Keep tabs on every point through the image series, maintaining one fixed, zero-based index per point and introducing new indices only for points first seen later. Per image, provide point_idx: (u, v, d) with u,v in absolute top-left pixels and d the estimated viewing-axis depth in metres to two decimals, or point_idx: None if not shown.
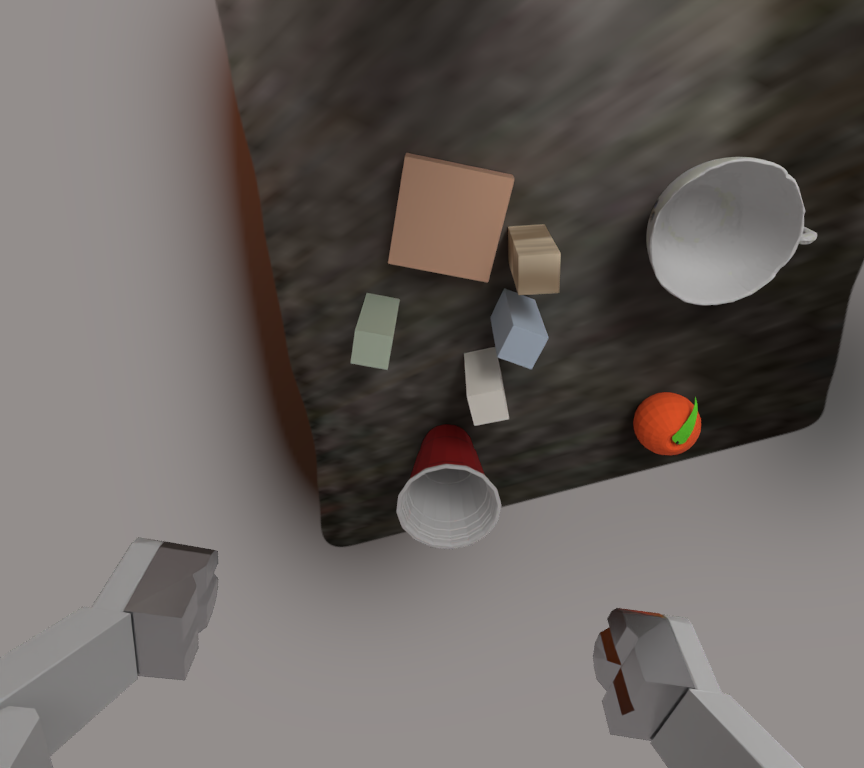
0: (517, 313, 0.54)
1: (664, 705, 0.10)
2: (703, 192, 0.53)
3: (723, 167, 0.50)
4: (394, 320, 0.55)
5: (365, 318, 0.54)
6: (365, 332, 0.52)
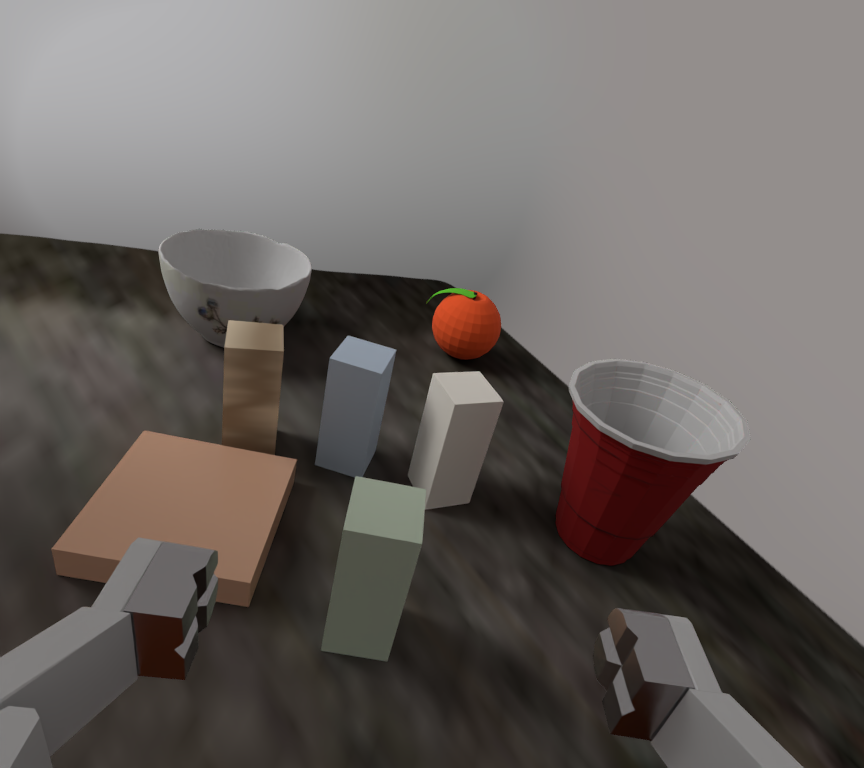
0: None
1: (664, 705, 0.10)
2: None
3: None
4: None
5: None
6: (348, 513, 0.26)
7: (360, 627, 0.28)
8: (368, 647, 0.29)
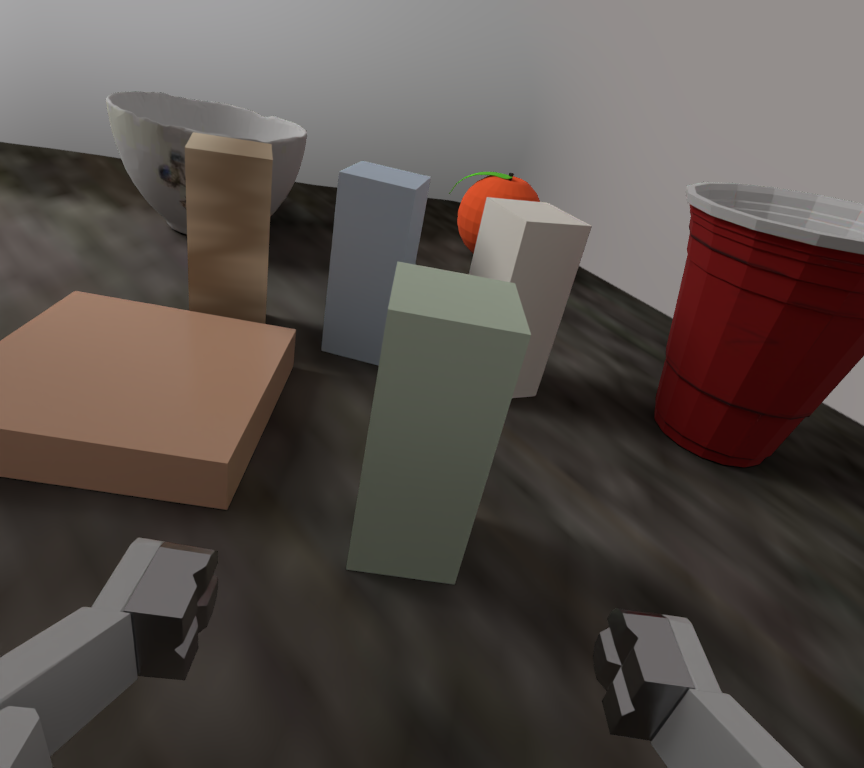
0: None
1: (664, 705, 0.10)
2: None
3: None
4: None
5: None
6: (394, 294, 0.14)
7: (412, 521, 0.17)
8: (424, 559, 0.18)
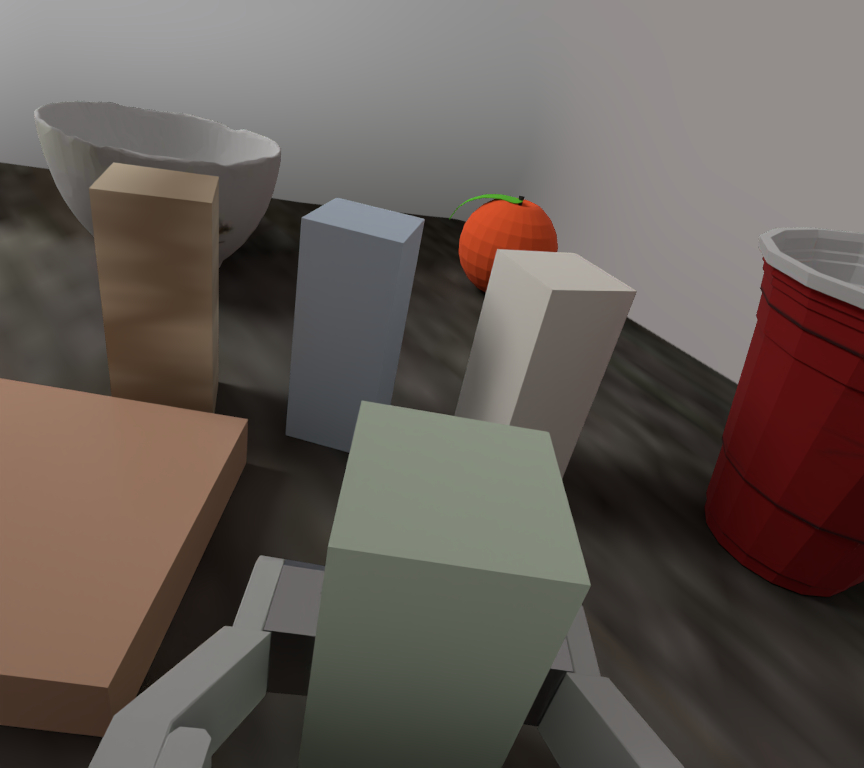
0: None
1: (545, 689, 0.10)
2: None
3: None
4: None
5: None
6: (346, 496, 0.08)
7: None
8: None
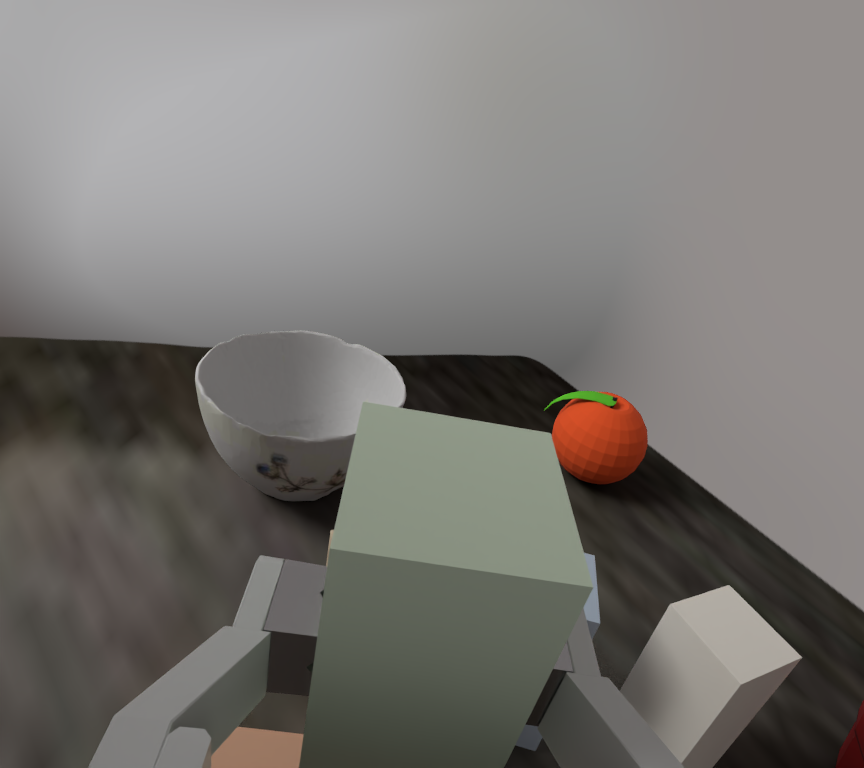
0: None
1: (545, 689, 0.10)
2: None
3: None
4: None
5: None
6: (348, 498, 0.08)
7: None
8: None
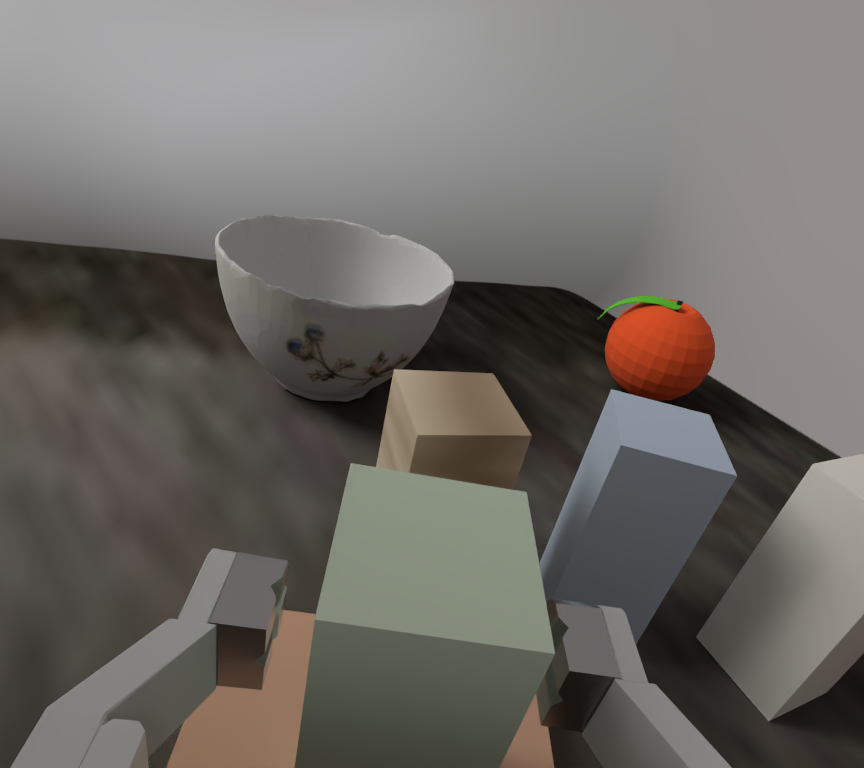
0: (585, 505, 0.20)
1: (591, 696, 0.10)
2: None
3: None
4: None
5: None
6: (333, 567, 0.09)
7: None
8: None
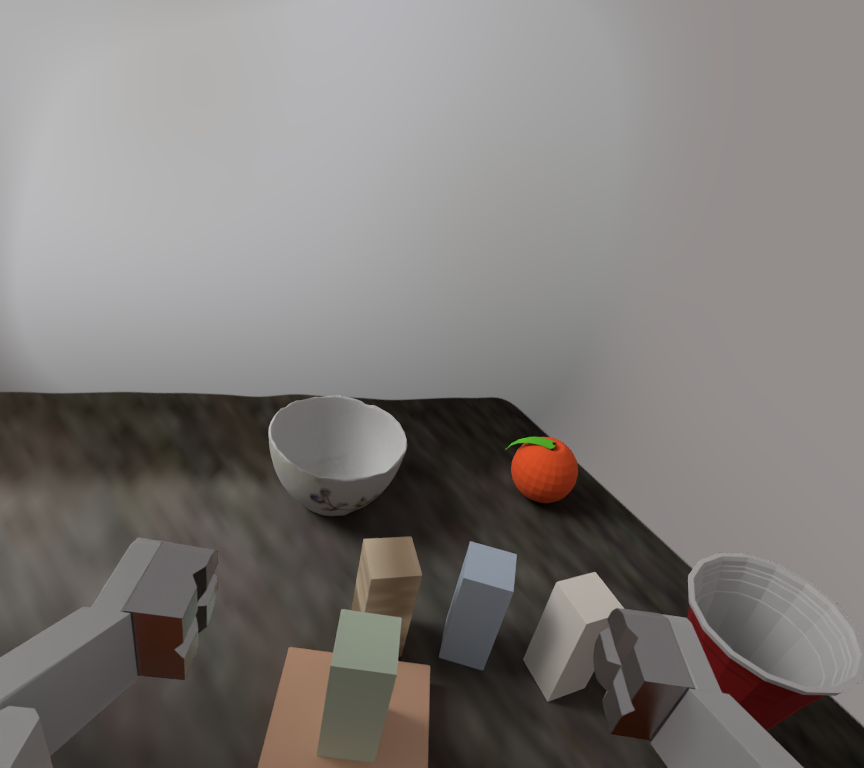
0: (455, 598, 0.41)
1: (664, 705, 0.10)
2: None
3: None
4: None
5: None
6: (335, 649, 0.31)
7: (349, 737, 0.33)
8: (357, 752, 0.34)
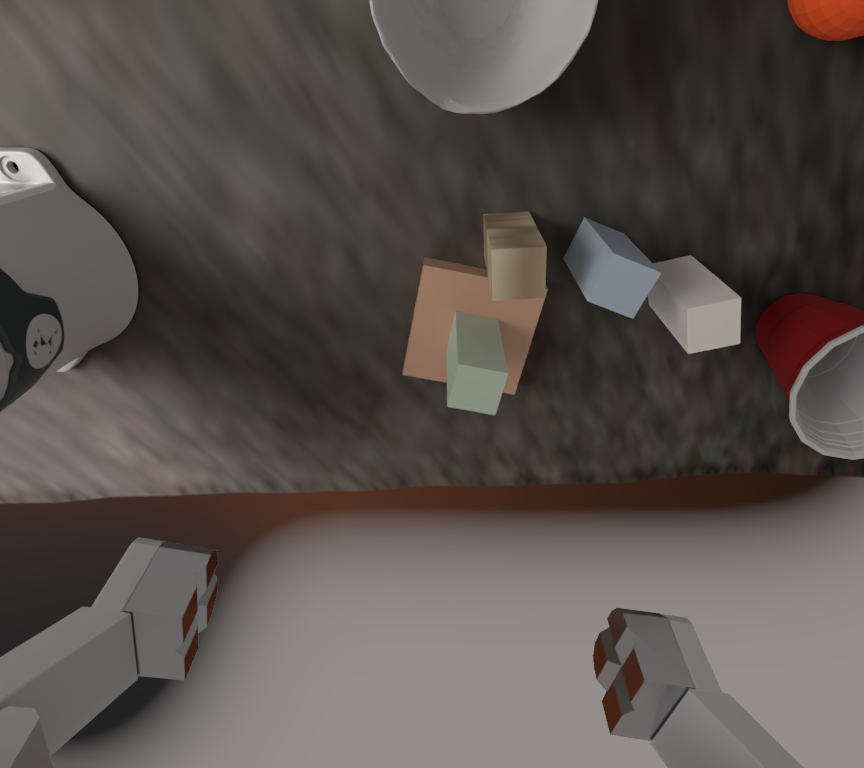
0: (583, 273, 0.41)
1: (664, 705, 0.10)
2: None
3: None
4: (456, 342, 0.42)
5: (448, 379, 0.42)
6: (451, 395, 0.40)
7: None
8: None
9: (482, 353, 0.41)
